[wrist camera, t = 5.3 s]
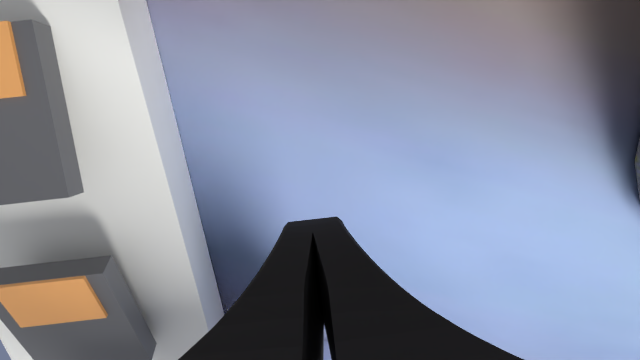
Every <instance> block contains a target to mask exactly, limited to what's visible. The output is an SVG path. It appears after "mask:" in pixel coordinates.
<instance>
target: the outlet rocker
mask: <svg viewBox="0 0 640 360" xmlns="http://www.w3.org/2000/svg"><path fill="white" fill-rule="evenodd" d="M81 193H84V189H83V184H82V179H81V174H80V169H79V164H78V160H77V155H76V150H75V145H74V140H73V135H72V130H71V125H70V120H69V115H68V110H67V105H66V100H65V95H64V90H63V85H62V80H61V75H60V71H59V66H58V61H57V56H56V51H55V46H54V41H53V36H52V31H51V26H49V25H47V24H44V23H41V22H38V21H35V20H32V19H31V20H22V21H13V22H10V21H0V205H7V204H16V203H25V202H34V201H43V200H51V199H60V198H69V197H72V196H75V195H78V194H81Z"/></svg>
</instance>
